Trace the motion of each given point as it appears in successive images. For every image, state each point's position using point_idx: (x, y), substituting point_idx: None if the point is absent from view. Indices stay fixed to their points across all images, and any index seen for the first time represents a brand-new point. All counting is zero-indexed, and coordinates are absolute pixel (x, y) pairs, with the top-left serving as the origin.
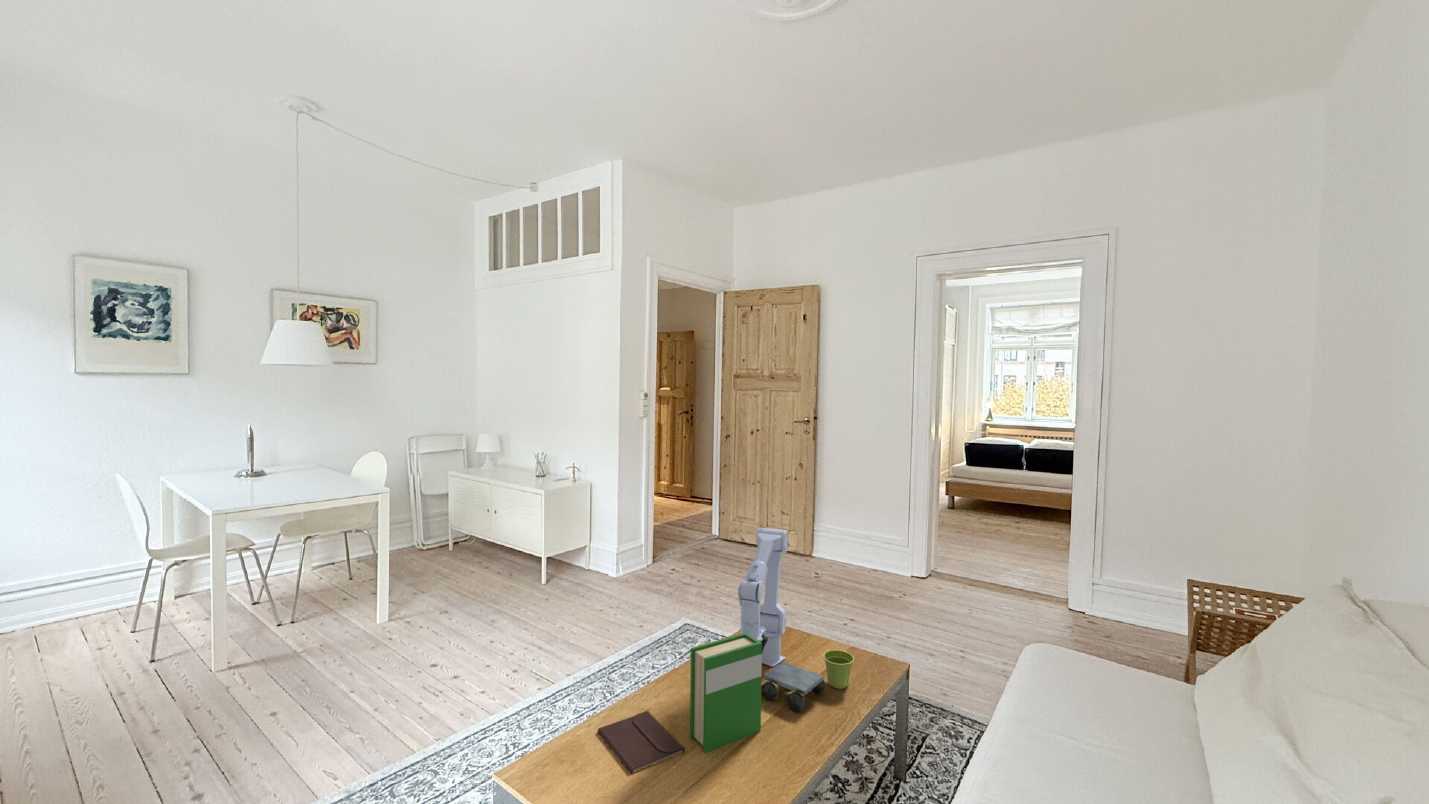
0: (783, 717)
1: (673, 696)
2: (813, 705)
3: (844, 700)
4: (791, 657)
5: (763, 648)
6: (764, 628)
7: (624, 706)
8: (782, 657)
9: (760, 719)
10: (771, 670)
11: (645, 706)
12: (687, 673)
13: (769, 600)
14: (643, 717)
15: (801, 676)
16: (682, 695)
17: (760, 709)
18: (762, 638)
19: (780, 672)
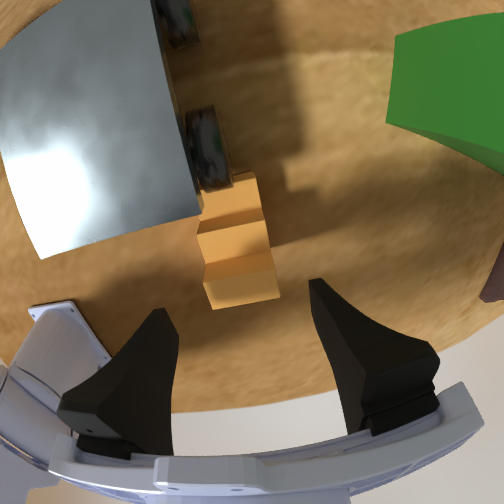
0: (266, 18)
1: (408, 331)
2: None
3: (21, 25)
4: (16, 301)
5: (112, 361)
6: (59, 473)
7: (466, 336)
8: (34, 314)
9: (419, 29)
10: (126, 228)
11: (458, 323)
12: (305, 387)
13: (8, 490)
14: (502, 286)
15: (41, 88)
16: (396, 326)
17: (446, 22)
18: (159, 478)
19: (97, 181)
